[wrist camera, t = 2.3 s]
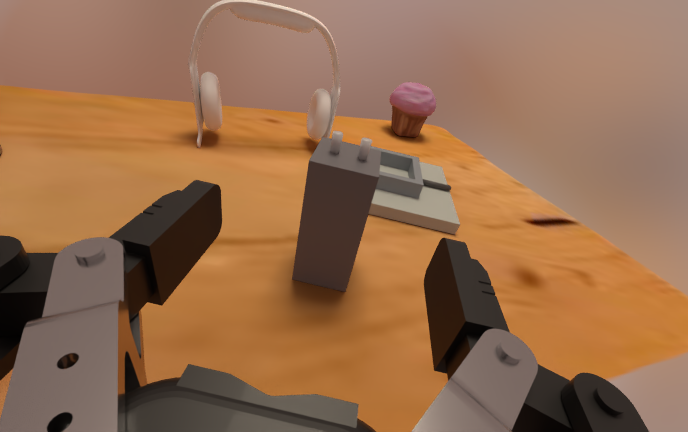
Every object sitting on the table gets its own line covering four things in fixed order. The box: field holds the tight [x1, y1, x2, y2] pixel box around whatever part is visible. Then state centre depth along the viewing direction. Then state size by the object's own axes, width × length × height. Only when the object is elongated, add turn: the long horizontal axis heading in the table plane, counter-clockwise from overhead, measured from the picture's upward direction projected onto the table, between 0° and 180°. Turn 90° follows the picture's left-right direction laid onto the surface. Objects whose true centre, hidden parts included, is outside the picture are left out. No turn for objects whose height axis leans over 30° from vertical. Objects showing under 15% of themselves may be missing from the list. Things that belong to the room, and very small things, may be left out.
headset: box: [188, 0, 340, 148], centre depth 42 cm, size 20×7×18 cm, turn 106°
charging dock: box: [368, 146, 460, 234], centre depth 42 cm, size 18×16×4 cm
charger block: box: [292, 131, 381, 292], centre depth 24 cm, size 5×5×12 cm
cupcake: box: [390, 82, 436, 137], centre depth 61 cm, size 9×9×10 cm
